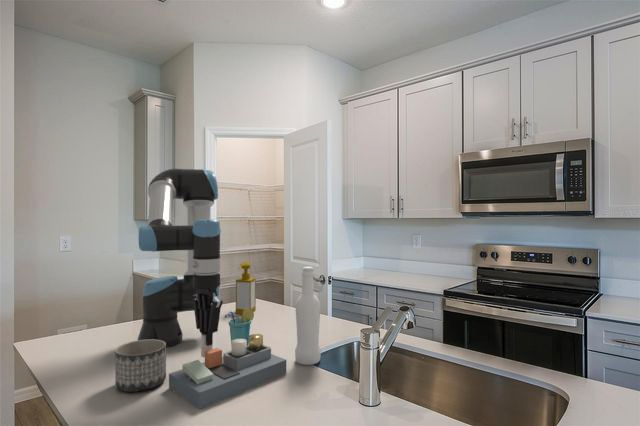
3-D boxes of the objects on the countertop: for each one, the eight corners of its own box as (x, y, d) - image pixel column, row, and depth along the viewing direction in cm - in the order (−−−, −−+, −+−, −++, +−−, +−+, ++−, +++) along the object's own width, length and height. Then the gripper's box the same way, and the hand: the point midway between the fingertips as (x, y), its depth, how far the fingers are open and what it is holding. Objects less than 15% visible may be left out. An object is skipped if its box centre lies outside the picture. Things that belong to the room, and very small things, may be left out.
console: (168, 388, 103) (168, 363, 103) (253, 359, 124) (253, 338, 124) (199, 409, 93) (199, 381, 92) (286, 373, 113) (286, 350, 113)
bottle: (301, 368, 117) (301, 269, 117) (291, 358, 124) (291, 266, 124) (325, 363, 121) (325, 267, 121) (313, 354, 128) (313, 264, 128)
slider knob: (204, 365, 107) (204, 351, 107) (217, 361, 110) (217, 347, 110) (209, 368, 105) (209, 353, 105) (222, 364, 108) (222, 349, 108)
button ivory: (228, 353, 110) (228, 341, 110) (240, 349, 113) (240, 337, 113) (237, 357, 107) (237, 344, 107) (249, 353, 110) (249, 340, 110)
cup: (235, 362, 121) (235, 314, 121) (215, 358, 125) (215, 312, 124) (259, 347, 134) (259, 305, 134) (241, 344, 137) (241, 302, 137)
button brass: (245, 347, 115) (245, 336, 115) (257, 344, 118) (257, 333, 118) (254, 351, 112) (254, 339, 112) (265, 347, 115) (265, 336, 115)
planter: (130, 374, 112) (130, 338, 112) (173, 375, 112) (173, 339, 112) (105, 395, 100) (105, 355, 100) (153, 395, 99) (153, 355, 99)
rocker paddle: (182, 369, 102) (182, 364, 102) (197, 364, 105) (198, 359, 105) (197, 384, 97) (198, 379, 96) (212, 378, 100) (213, 373, 100)
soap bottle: (231, 316, 174) (231, 264, 174) (241, 309, 186) (241, 261, 186) (246, 317, 172) (246, 265, 172) (255, 310, 185) (255, 261, 185)
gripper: (183, 272, 112) (183, 353, 112) (206, 277, 103) (207, 365, 103) (206, 269, 117) (206, 347, 117) (230, 274, 108) (231, 357, 108)
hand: (206, 355), depth 110 cm, fingers closed
